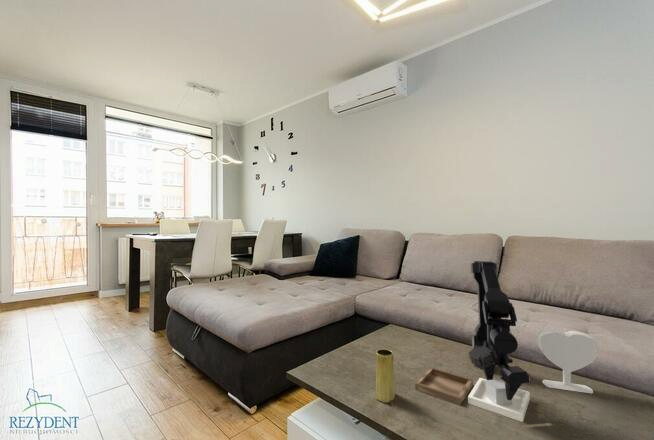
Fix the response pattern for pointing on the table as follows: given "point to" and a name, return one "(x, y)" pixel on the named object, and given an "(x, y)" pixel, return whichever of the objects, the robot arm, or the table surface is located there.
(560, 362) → the heart sculpture
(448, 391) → the walnut tray
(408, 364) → the table surface
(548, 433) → the table surface
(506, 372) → the robot arm
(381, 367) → the vase
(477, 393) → the cream tray
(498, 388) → the stone block
